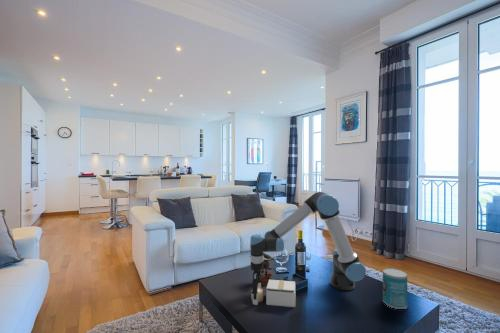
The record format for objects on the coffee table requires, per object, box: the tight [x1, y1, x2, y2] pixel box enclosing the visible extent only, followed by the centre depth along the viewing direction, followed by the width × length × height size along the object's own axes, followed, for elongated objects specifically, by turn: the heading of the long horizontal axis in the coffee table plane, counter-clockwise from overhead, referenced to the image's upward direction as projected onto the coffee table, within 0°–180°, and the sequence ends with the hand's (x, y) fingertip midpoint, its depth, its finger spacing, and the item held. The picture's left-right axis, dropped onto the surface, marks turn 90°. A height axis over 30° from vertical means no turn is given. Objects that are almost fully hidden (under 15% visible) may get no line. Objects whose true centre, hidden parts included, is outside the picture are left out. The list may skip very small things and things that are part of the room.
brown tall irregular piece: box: [250, 252, 274, 287], centre depth 171 cm, size 15×11×20 cm
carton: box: [265, 288, 296, 308], centre depth 148 cm, size 16×12×8 cm
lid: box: [266, 279, 296, 292], centre depth 148 cm, size 16×12×1 cm
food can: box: [382, 267, 408, 310], centre depth 143 cm, size 12×12×18 cm
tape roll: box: [250, 287, 264, 303], centre depth 150 cm, size 7×7×5 cm
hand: (257, 298), depth 150 cm, fingers open, 11 cm apart
